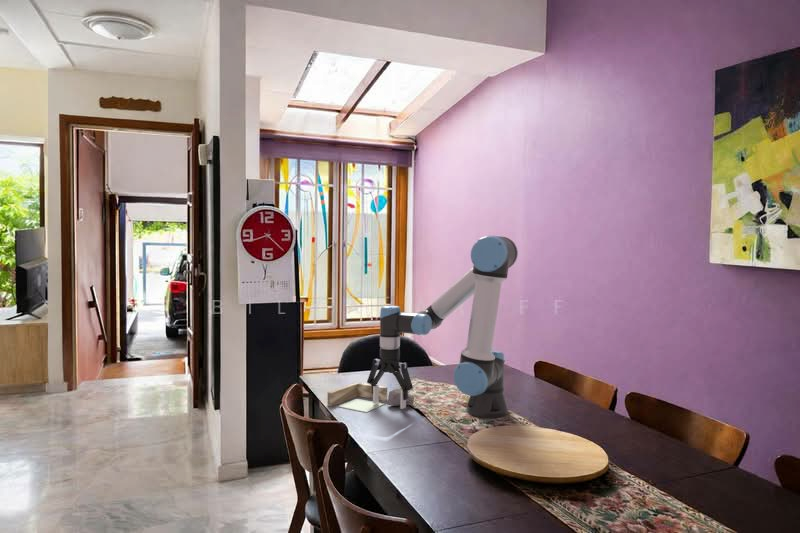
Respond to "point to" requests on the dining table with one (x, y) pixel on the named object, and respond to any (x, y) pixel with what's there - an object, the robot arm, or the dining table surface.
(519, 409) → the dining table surface
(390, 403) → the stone
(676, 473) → the dining table surface
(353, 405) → the pad
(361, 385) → the arena
